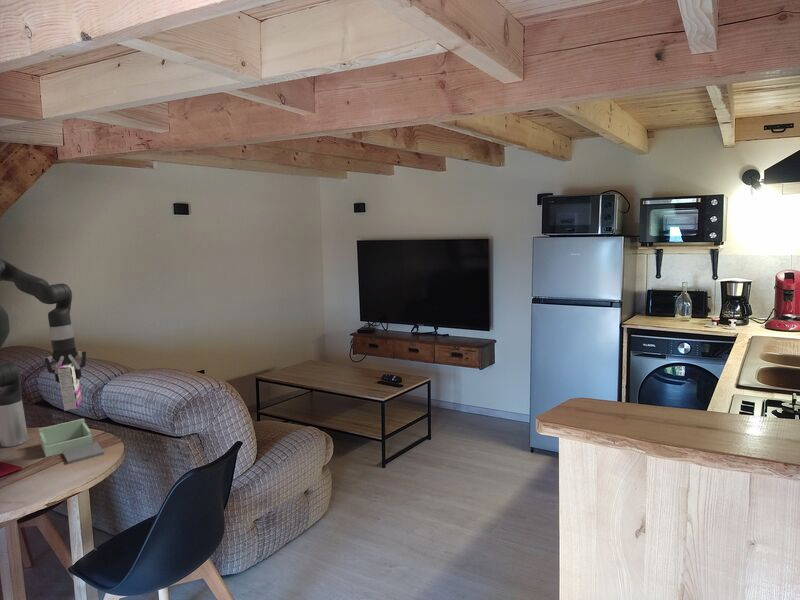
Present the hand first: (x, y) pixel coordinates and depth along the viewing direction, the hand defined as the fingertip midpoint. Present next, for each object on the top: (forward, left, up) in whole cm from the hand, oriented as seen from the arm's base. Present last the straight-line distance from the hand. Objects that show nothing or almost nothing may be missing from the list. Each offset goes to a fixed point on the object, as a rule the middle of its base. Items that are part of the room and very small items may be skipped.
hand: (68, 380), depth 213 cm
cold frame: (-10, -3, -28) cm, 30 cm away
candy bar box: (0, 0, -10) cm, 10 cm away
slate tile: (+4, +1, -28) cm, 29 cm away
